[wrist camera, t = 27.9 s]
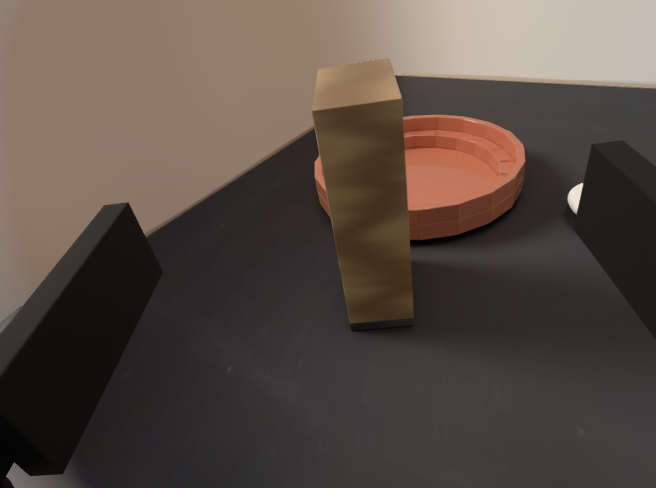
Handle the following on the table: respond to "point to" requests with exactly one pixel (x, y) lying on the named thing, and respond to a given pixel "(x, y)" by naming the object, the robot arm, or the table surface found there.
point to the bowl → (454, 174)
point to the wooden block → (367, 189)
